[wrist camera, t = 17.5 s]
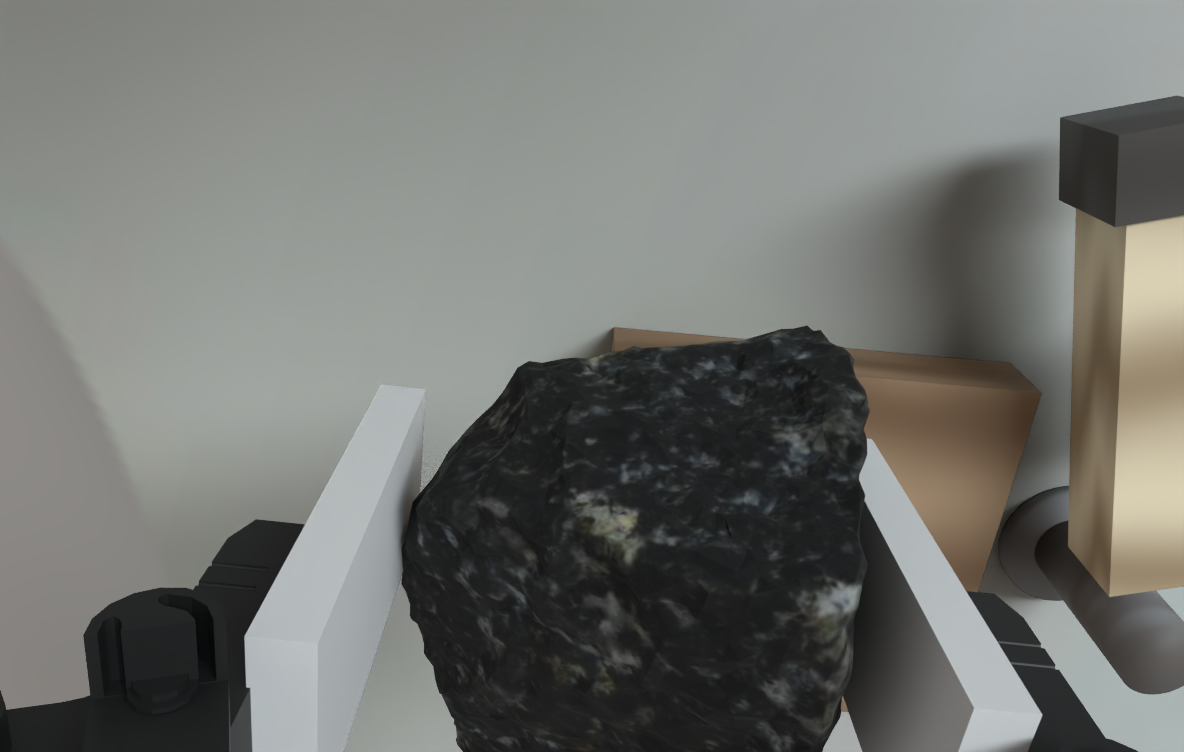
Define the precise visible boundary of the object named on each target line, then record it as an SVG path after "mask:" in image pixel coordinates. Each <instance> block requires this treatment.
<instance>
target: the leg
mask: <svg viewBox="0 0 1184 752" xmlns="http://www.w3.org/2000/svg"><path fill="white" fill-rule="evenodd" d="M1059 200H1060V201H1062V202H1064V203H1067V204H1069V205H1071V206H1073V207H1075V208H1076V229H1075V271H1074V313H1073V355H1072V396H1071V438H1070V480H1069V522H1068V547H1069V548H1070V550H1071V551H1072V552H1073V553H1074V554H1075V556H1076V557H1077V558H1078V559H1079V561H1080V562H1081V563H1082V564H1083V565H1084V567H1085V568H1086V569H1087V570H1088V572H1089V573H1090V574H1091V575H1092V577H1093V578H1094V579H1095V580H1096V581H1097V583H1098V584H1099V585H1100V586H1101V588H1102V589H1103V590H1104V591H1105V592H1106V594H1107V595H1108V596H1109V597H1113V596H1120V595H1127V594H1134V593H1141V592H1148V591H1155V590H1162V589H1169V588H1176V587H1184V97H1181V96H1173V97H1168V98H1162V99H1157V100H1152V101H1146V102H1141V103H1135V104H1130V105H1125V106H1119V107H1114V108H1108V109H1103V110H1098V111H1092V112H1087V113H1082V114H1076V115H1071V116H1065V117H1060V172H1059Z"/></svg>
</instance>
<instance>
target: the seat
mask: <svg viewBox="0 0 1184 752" xmlns="http://www.w3.org/2000/svg"><path fill="white" fill-rule="evenodd" d="M743 340H746V339H737V338H726V337H715V336H704V335H693V334H681V333H670V332H659V331H648V330H637V329H626V328H615V327H614V331H613V340H612V350H611V352H612V351H623V350H625V349H627V348H630V347H632V346H636V347H640V348H651V347H672V346H681V345H692V344H704V343H709V342H715V341H743ZM844 349H846V350H847V351H848V352H849V353H850V354H851V356H852V357H853V358H854V366H853V368H854V372H855V376H856V378H857V380H858V381H859V382H860V384H861V385H862V386H863V388H864V389H865V392H866V394H867V398H868V404H869V410H870V413H869V416H868V418H867V421H866V424H865V427H864V432H865V435H866V438H867V439H872V440H873V441H874V443H875V445H876V446H877V448H878V449H879V451H880V453H881V454H882V456H883V458H884V459H885V461H886V462H887V464H888V466H889V467H890V469H891V471H892V472H893V474H894V475H895V477H896V479H897V480H898V482H899V483H900V485H901V487H902V488H903V490H904V492H905V493H906V495H907V496H908V498H909V500H910V501H911V503H912V505H913V506H914V508H915V509H916V511H917V513H918V514H919V516H920V517H921V519H922V521H923V522H924V524H925V526H926V527H927V529H928V530H929V532H930V534H931V535H932V537H933V538H934V540H935V542H936V543H937V545H938V547H939V548H940V550H941V551H942V553H943V555H944V556H945V558H946V560H947V561H948V563H949V564H950V566H951V568H952V569H953V571H954V572H955V574H956V576H957V577H958V579H959V581H960V582H961V584H962V585H963V587H964V589H965V590H966V591H971V592H978V590H979V587H980V584H981V580H982V577H983V574H984V571H985V568H986V565H987V562H988V559H989V556H990V553H991V549H992V546H993V543H994V540H995V537H996V534H997V531H998V528H999V525H1000V521H1001V518H1002V515H1003V512H1004V509H1005V506H1006V503H1007V500H1008V497H1009V494H1010V490H1011V487H1012V484H1013V481H1014V478H1015V475H1016V472H1017V469H1018V466H1019V462H1020V459H1021V456H1022V453H1023V450H1024V447H1025V444H1026V441H1027V438H1028V435H1029V431H1030V428H1031V425H1032V422H1033V419H1034V416H1035V413H1036V410H1037V407H1038V404H1039V400H1040V397H1041V394H1042V393H1041V392H1040V391H1039V390H1038V389H1037V388H1036V387H1035V386H1034V385H1033V384H1032V383H1031V382H1030V381H1029V380H1028V379H1026V378H1025V377H1024V376H1023V375H1022V374H1021V373H1020V372H1019V371H1018V370H1017V369H1016V368H1015V367H1014V366H1013V365H1012V364H1011V363H1002V362H991V361H980V360H969V359H958V358H947V357H936V356H925V355H914V354H903V353H892V352H881V351H870V350H858V349H847V348H844ZM1068 522H1069V486H1064V487H1058V488H1054V489H1051V490H1048V491H1045V492H1043V493H1040V494H1038V495H1036V496H1035V497H1033V498H1031V499H1030V500H1028V501H1027V502H1025V503H1024V504H1023V505H1021V506H1020V507H1019V508H1018V509H1017V510H1016V511H1015V512H1014V513H1013V514H1012V515H1011V517H1010V518H1009V519H1008V521H1007V523H1006V524H1005V526H1004V528H1003V530H1002V533H1001V536H1000V540H999V557H1000V561H1001V563H1002V566H1003V568H1004V569H1005V571H1006V572H1007V574H1008V575H1009V577H1010V578H1011V580H1012V581H1013V582H1014V584H1015V585H1016V586H1017V587H1018V588H1020V589H1021V590H1022V591H1024V592H1025V593H1027V594H1029V595H1031V596H1034V597H1036V598H1040V599H1044V600H1054V601H1061V600H1064V602H1065V603H1066V605H1067V606H1068V607H1069V609H1070V610H1071V611H1072V613H1073V614H1074V615H1075V617H1076V618H1077V619H1078V621H1079V622H1080V624H1081V625H1082V626H1083V628H1084V629H1085V630H1086V632H1087V633H1088V634H1089V636H1090V637H1091V638H1092V640H1093V641H1094V642H1095V644H1096V645H1097V647H1098V648H1099V649H1100V651H1101V652H1102V653H1103V655H1104V656H1105V657H1106V659H1107V660H1108V661H1109V663H1110V664H1111V666H1112V667H1113V668H1114V670H1115V671H1116V672H1117V674H1118V675H1119V676H1120V678H1121V679H1122V680H1123V682H1124V683H1125V684H1126V685H1127V686H1128V687H1129V688H1131V689H1132V690H1134V691H1137V692H1140V693H1144V694H1162V693H1166V692H1170V691H1173V690H1176V689H1178V688H1180V687H1182V686H1184V622H1183V620H1182V619H1181V618H1180V617H1179V616H1178V615H1177V614H1176V613H1175V612H1174V610H1173V609H1172V608H1171V607H1170V606H1169V605H1168V604H1167V603H1166V602H1165V600H1164V599H1163V598H1162V597H1161V596H1160V595H1159V594H1158V593H1157V592H1156V590H1155V591H1148V592H1141V593H1134V594H1127V595H1120V596H1113V597H1109V596H1108V595H1107V594H1106V592H1105V591H1104V590H1103V589H1102V588H1101V586H1100V585H1099V584H1098V583H1097V581H1096V580H1095V579H1094V578H1093V577H1092V575H1091V574H1090V573H1089V572H1088V570H1087V569H1086V568H1085V567H1084V565H1083V564H1082V563H1081V562H1080V561H1079V559H1078V558H1077V557H1076V556H1075V554H1074V553H1073V552H1072V551H1071V550H1070V548H1069V547H1068ZM841 711H843V712H848V709H847V706H846V703H845V700H844V697H843V696H842V702H841Z"/></svg>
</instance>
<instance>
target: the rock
mask: <svg viewBox="0 0 1184 752" xmlns="http://www.w3.org/2000/svg"><path fill="white" fill-rule="evenodd" d="M853 366H854V358H853V357H852V356H851V354H850V353H849V352H848V351H847V350H846V349H844V348H843V347H839V346H836V345H834V344H832V343H830V342H829V341H828V339H827V338H826V337H825V335H824V334H823V333H822V331H821V330H819V331H813V330H811V329H810V328H809V327H808V326H803V327H799V328H795V329H781V330H777V331H774V332H770V333H767V334H764V335H760V336H757V337H753V338H750V339H746V340H743V341H715V342H709V343H704V344H692V345H681V346H672V347H651V348H640V347H636V346H632V347H630V348H627V349H625V350H623V351H612V352H609V353H606V354H603V355H600V356H597V357H594V358H590V359H582V358H568V359H560V360H555V361H550V362H545V363H538V362H531V361H529V362H527V363H525V364H523V365H522V366H520V367H518V368H517V370H516V371H515V373H514V375H513V376H512V378H511V380H510V381H509V383H508V385H507V386H506V388H505V390H504V391H503V393H502V394H501V395H500V396H499V398H498V399H497V400H496V402H495V403H494V404H493V405H492V406H491V407H490V408H489V409H488V410H487V411H486V412H485V413H483V414H482V415H481V416H480V417H479V418H478V419H477V420H476V421H475V422H474V423H473V424H472V425H471V426H470V427H469V428H468V429H467V430H466V432H465V433H464V434H463V435H462V436H461V437H460V439H459V440H458V441H457V442H456V443H455V445H454V446H453V447H452V448H451V449H450V450H449V452H448V453H447V455H446V457H445V459H444V461H443V462H442V464H441V466H440V468H439V469H438V471H437V472H436V474H435V476H434V477H433V479H432V480H431V481H430V482H429V483H428V485H427V486H426V487H425V488H424V489H423V490H422V492H421V493H420V494H419V495H418V496H417V497H416V498H415V500H414V501H413V502H412V507H411V512H410V517H409V522H408V527H407V532H406V537H405V541H404V544H403V546H402V549H401V551H402V567H403V573H402V585H403V587H404V589H405V591H406V593H407V596H408V599H409V602H410V617H411V619H412V620H413V621H415V622H416V623H417V624H418V626H419V629H420V631H421V634H422V637H423V641H424V654H425V655H426V657H427V658H428V660H429V661H430V662H431V664H432V665H433V667H434V673H435V680H436V683H437V687H438V690H439V693H440V694H442V696H443V698H444V701H445V703H446V705H447V707H448V709H449V712H450V714H451V716H452V717H453V718H454V724H455V726H456V731H457V739H456V742H457V744H458V746H459V747H460V748H461V750H462V751H463V752H822V751H823V747H824V745H825V743H826V742H827V740H828V738H829V736H830V734H831V732H832V730H833V729H834V727H835V725H836V724H837V722H838V720H839V718H840V715H841V702H842V696H843V694H844V692H845V690H846V688H847V686H848V684H849V682H850V680H851V676H852V666H853V636H854V617H855V614H856V612H857V609H858V605H859V600H860V595H861V590H862V584H863V580H864V577H865V574H866V571H867V567H868V563H867V560H866V558H865V555H864V552H863V549H862V547H861V544H860V540H859V533H860V519H861V514H862V509H863V505H864V500H865V493H864V491H863V488H862V486H861V483H860V481H859V474H860V472H861V470H862V467H863V465H864V463H865V460H866V457H867V438H866V435H865V432H864V427H865V424H866V421H867V418H868V416H869V413H870V410H869V404H868V398H867V394H866V392H865V389H864V388H863V386H862V385H861V384H860V382H859V381H858V380H857V378H856V376H855V372H854V368H853Z"/></svg>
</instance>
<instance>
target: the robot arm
mask: <svg viewBox="0 0 1184 752" xmlns="http://www.w3.org/2000/svg"><path fill="white" fill-rule="evenodd" d="M425 392H426V389H417V388H408V387H399V386H390V385H381V386H380V387H379V389H378V391H377V393H376V395H375V397H374V399H373V400H372V402H371V404H370V406H369V408H368V410H367V411H366V413H365V415H364V417H363V419H362V421H361V422H360V424H359V426H358V428H357V430H356V432H355V434H354V435H353V437H352V439H351V441H350V443H349V445H348V446H347V448H346V450H345V452H344V454H343V456H342V458H341V459H340V461H339V463H338V465H337V467H336V469H335V470H334V472H333V474H332V476H331V478H330V480H329V481H328V483H327V485H326V487H325V489H324V491H323V493H322V494H321V496H320V498H319V500H318V502H317V504H316V505H315V507H314V509H313V511H312V513H311V515H310V516H309V518H308V520H307V522H306V524H305V525H304V524H295V523H285V522H276V521H266V520H255V521H253V522H252V523H250V524H249V525H247V526H246V527H244V528H243V529H241V530H240V531H238V532H236V533H235V534H233V535H232V536H230V537H229V538H228V539H227V540H226V542H225V543H224V545H223V546H222V548H221V549H220V551H219V552H218V554H217V555H216V557H215V558H214V560H213V561H212V566H209V567H208V569H207V570H206V572H205V573H204V575H203V576H202V577H201V579H200V580H199V585H198V586H195V588H194V589H193V590H192V589H188V588H157V589H152V590H148V591H143V592H138V593H134V594H132V595H129V596H127V597H125V598H123V599H121V600H118V601H116V602H114V603H111V604H110V605H108V606H107V607H106V608H105V609H104V610H102V611H101V612H100V613H99V614H97V615H96V616H95V617H94V618H93V619H92V620H91V622H90V624H89V626H88V628H87V630H86V631H85V634H84V644H85V652H86V661H87V669H88V678H89V686H90V696H87V697H85V698H80V699H75V700H71V701H66V702H61V703H54V704H47V705H39V706H32V707H25V708H18V709H11V710H6V707H5V703H4V700H3V697H2V694H1V691H0V752H344V749H345V746H346V743H347V740H348V737H349V734H350V730H351V727H352V724H353V721H354V718H355V715H356V712H357V709H358V706H359V703H360V700H361V697H362V694H363V691H364V688H365V685H366V682H367V679H368V676H369V673H370V670H371V667H372V664H373V661H374V658H375V655H376V652H377V649H378V646H379V643H380V640H381V637H382V634H383V630H384V627H385V624H386V621H387V618H388V615H389V612H390V609H391V606H392V603H393V600H394V597H395V594H396V591H397V588H398V585H399V582H400V579H401V576H402V573H403V567H402V551H401V549H402V546H403V544H404V541H405V537H406V532H407V527H408V522H409V517H410V512H411V507H412V502H413V501H414V500H415V498H416V497H417V496H418V495H419V494H420V483H421V465H422V447H423V428H424V410H425ZM859 481H860V483H861V486H862V488H863V491H864V493H865V500H864V505H863V509H862V514H861V519H860V533H859V540H860V544H861V547H862V549H863V552H864V555H865V558H866V560H867V563H868V567H867V571H866V574H865V577H864V580H863V584H862V590H861V595H860V600H859V605H858V609H857V612H856V614H855V617H854V636H853V666H852V676H851V680H850V682H849V684H848V686H847V688H846V690H845V692H844V694H843V697H844V700H845V703H846V706H847V709H848V712H849V714H850V717H851V720H852V723H853V726H854V729H855V732H856V734H857V737H858V740H859V743H860V746H861V749H862V751H863V752H1138V751H1136V750H1134V749H1132V748H1129V747H1127V746H1125V745H1123V744H1120V743H1118V742H1116V741H1113V740H1110V739H1106V738H1105V737H1104V735H1103V734H1102V732H1101V731H1100V729H1099V728H1098V726H1097V725H1096V723H1095V722H1094V721H1093V719H1092V718H1091V716H1090V715H1089V713H1088V712H1087V710H1086V709H1085V707H1084V706H1083V704H1082V703H1081V702H1080V700H1079V699H1078V697H1077V696H1076V694H1075V693H1074V691H1073V690H1072V688H1071V687H1070V685H1069V684H1068V682H1067V681H1066V680H1065V678H1064V677H1063V675H1062V674H1061V672H1060V671H1059V670H1055V663H1054V662H1053V661H1052V659H1051V658H1050V656H1049V655H1048V653H1047V652H1046V650H1045V649H1044V648H1041V643H1040V641H1039V640H1038V639H1037V637H1036V636H1035V634H1034V633H1033V631H1032V630H1031V628H1030V627H1029V625H1028V624H1027V622H1026V621H1025V620H1024V618H1023V617H1022V616H1021V615H1019V614H1018V613H1017V612H1016V611H1014V610H1013V609H1012V608H1011V607H1010V606H1008V605H1007V604H1006V603H1005V602H1003V601H1002V600H1001V599H1000V598H999V597H997V596H996V595H995V594H990V593H980V592H971V591H966V590H965V589H964V587H963V585H962V584H961V582H960V581H959V579H958V577H957V576H956V574H955V572H954V571H953V569H952V568H951V566H950V564H949V563H948V561H947V560H946V558H945V556H944V555H943V553H942V551H941V550H940V548H939V547H938V545H937V543H936V542H935V540H934V538H933V537H932V535H931V534H930V532H929V530H928V529H927V527H926V526H925V524H924V522H923V521H922V519H921V517H920V516H919V514H918V513H917V511H916V509H915V508H914V506H913V505H912V503H911V501H910V500H909V498H908V496H907V495H906V493H905V492H904V490H903V488H902V487H901V485H900V483H899V482H898V480H897V479H896V477H895V475H894V474H893V472H892V471H891V469H890V467H889V466H888V464H887V462H886V461H885V459H884V458H883V456H882V454H881V453H880V451H879V449H878V448H877V446H876V445H875V443H874V441H873V440H872V439H867V457H866V460H865V463H864V465H863V467H862V470H861V472H860V474H859Z"/></svg>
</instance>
